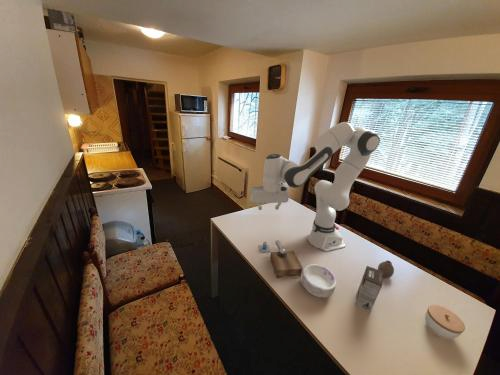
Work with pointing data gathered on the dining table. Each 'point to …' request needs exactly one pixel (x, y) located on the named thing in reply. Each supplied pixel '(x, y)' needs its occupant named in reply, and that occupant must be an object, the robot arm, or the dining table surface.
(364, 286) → the coffee box
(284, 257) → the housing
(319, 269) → the white round bowl
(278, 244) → the lever handle
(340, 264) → the dining table surface
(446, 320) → the lidded jar
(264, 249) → the cover
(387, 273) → the vase
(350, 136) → the robot arm
